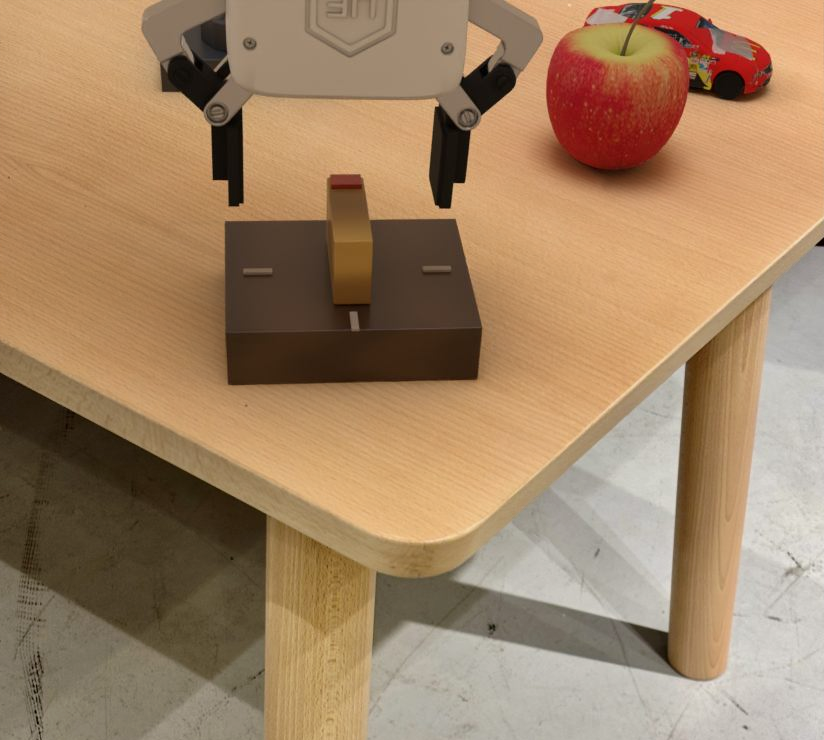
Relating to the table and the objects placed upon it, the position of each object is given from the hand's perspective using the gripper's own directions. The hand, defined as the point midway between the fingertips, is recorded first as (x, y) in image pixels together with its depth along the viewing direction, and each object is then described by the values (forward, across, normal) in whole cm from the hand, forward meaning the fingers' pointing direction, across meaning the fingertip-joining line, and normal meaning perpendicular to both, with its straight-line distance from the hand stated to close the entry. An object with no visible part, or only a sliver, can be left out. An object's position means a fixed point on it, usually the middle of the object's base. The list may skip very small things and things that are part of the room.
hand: (338, 193), depth 65 cm
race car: (+7, +25, +29) cm, 39 cm away
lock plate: (+7, +1, 0) cm, 7 cm away
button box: (+7, -3, +30) cm, 31 cm away
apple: (+7, +18, +17) cm, 25 cm away
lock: (+4, +1, 0) cm, 4 cm away
